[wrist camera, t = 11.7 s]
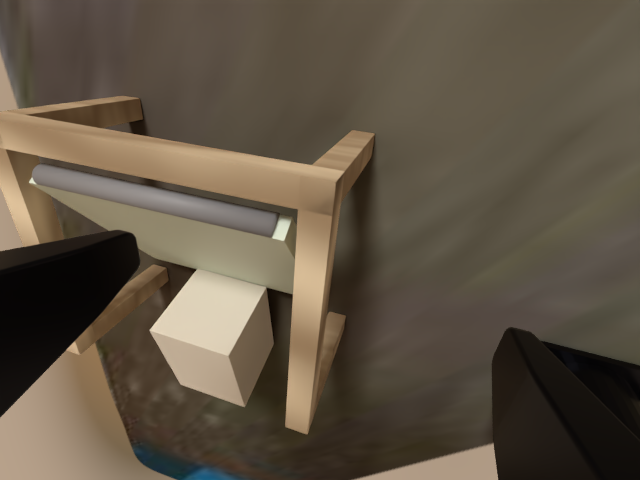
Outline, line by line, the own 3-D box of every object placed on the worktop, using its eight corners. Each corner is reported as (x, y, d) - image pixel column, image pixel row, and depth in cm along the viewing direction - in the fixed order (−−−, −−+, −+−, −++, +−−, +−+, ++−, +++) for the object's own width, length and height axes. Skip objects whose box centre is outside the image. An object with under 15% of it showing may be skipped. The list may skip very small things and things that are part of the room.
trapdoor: (31, 157, 15) (17, 176, 15) (289, 210, 13) (281, 235, 12) (161, 245, 25) (155, 258, 24) (322, 286, 22) (318, 301, 22)
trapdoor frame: (123, 95, 21) (-28, 115, 14) (375, 133, 18) (336, 182, 11) (155, 276, 28) (63, 349, 21) (344, 328, 24) (307, 434, 17)
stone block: (228, 356, 19) (244, 407, 24) (266, 287, 22) (273, 343, 27) (149, 330, 20) (180, 384, 25) (197, 268, 23) (216, 326, 28)
